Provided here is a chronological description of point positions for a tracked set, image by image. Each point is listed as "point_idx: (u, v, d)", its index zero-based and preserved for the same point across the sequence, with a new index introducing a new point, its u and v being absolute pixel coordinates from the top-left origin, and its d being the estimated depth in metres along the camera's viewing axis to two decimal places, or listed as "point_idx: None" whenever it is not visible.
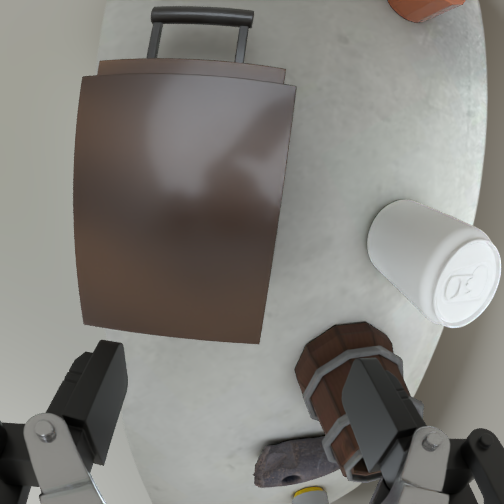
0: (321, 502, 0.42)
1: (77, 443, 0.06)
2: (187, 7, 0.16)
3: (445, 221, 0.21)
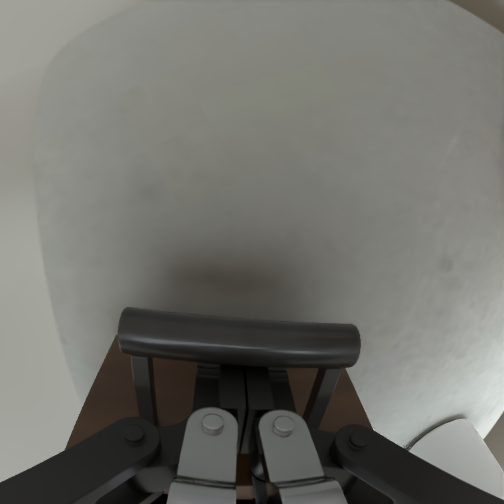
0: None
1: (238, 432, 0.07)
2: (205, 338, 0.08)
3: (481, 489, 0.13)
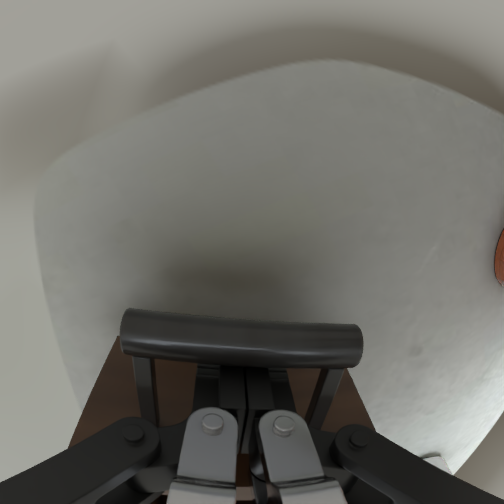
0: None
1: (238, 432, 0.07)
2: (207, 339, 0.08)
3: None
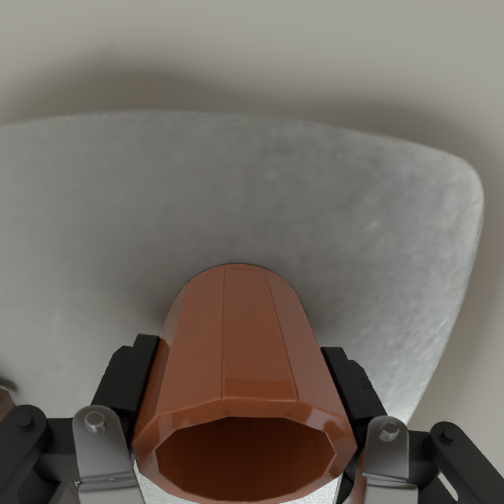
0: None
1: (126, 433, 0.06)
2: None
3: None
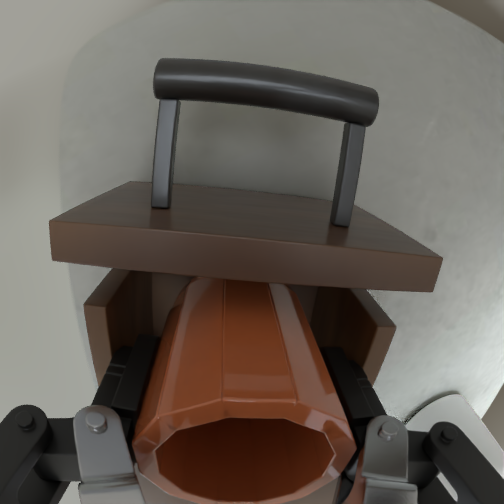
0: None
1: (127, 433, 0.06)
2: (237, 67, 0.08)
3: None
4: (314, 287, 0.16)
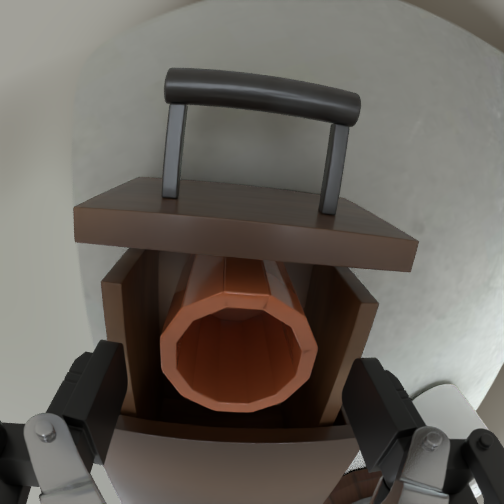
0: None
1: (77, 443, 0.06)
2: (237, 76, 0.10)
3: None
4: (308, 274, 0.18)
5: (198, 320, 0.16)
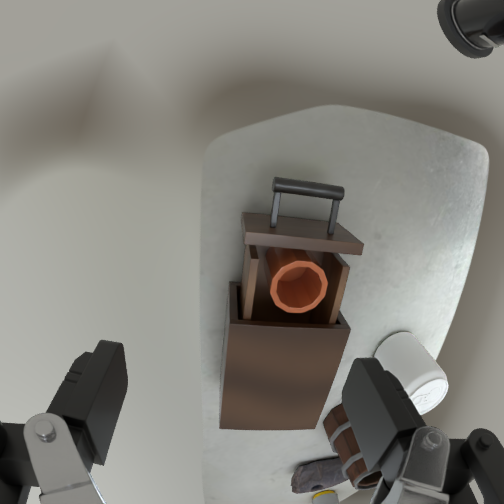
0: (333, 501, 0.58)
1: (77, 443, 0.06)
2: (300, 183, 0.29)
3: (419, 365, 0.36)
4: (321, 259, 0.37)
5: None
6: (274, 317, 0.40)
